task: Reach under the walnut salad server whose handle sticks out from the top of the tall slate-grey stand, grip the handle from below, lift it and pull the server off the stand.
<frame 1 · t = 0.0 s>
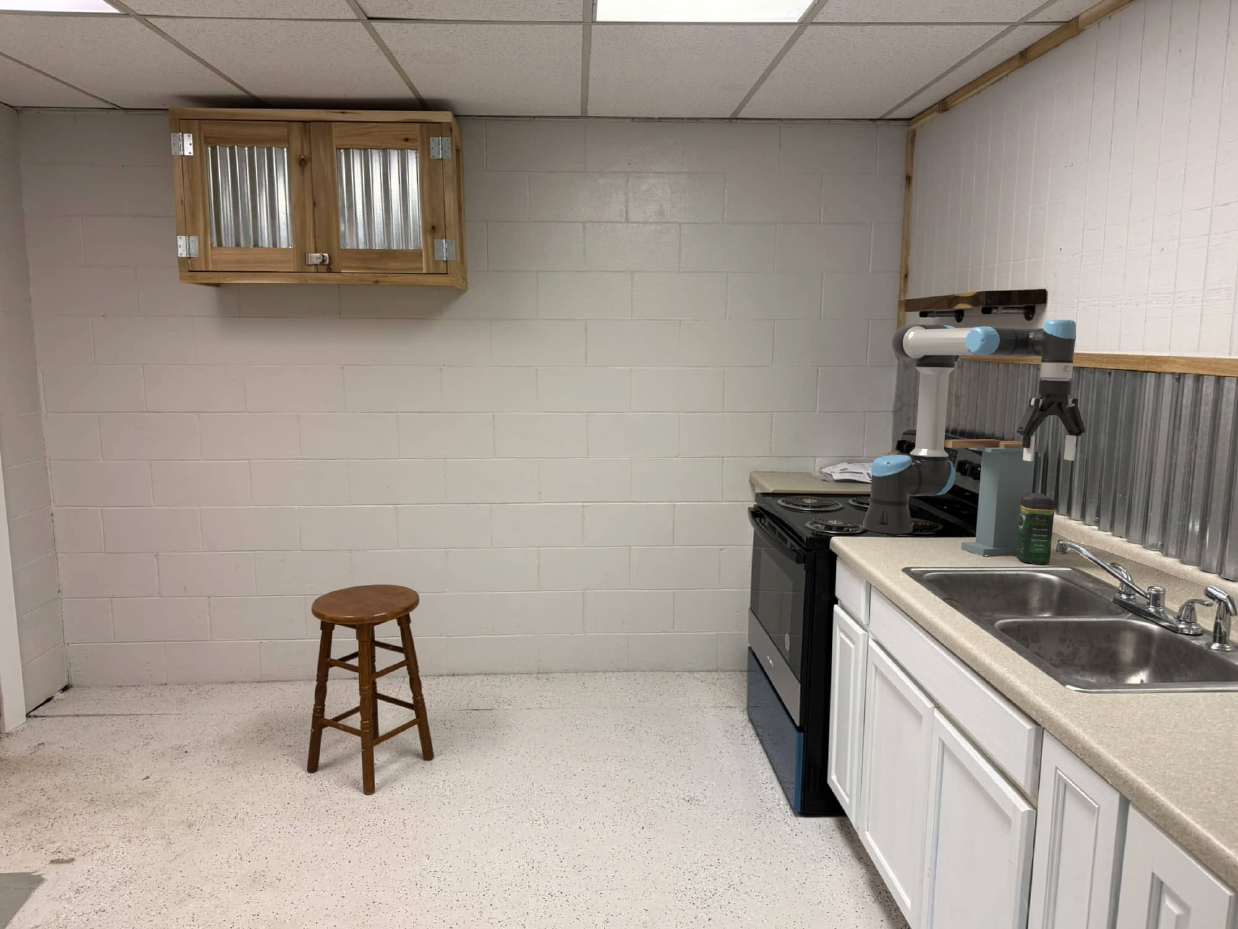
hand: (1048, 460, 226), 28 cm above the counter, tool pointing down, fingers open, 13 cm apart
coffee jar: (1032, 561, 233), on the counter
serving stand: (995, 551, 243), on the counter
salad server: (1003, 446, 240), point 30 cm above the counter, touching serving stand
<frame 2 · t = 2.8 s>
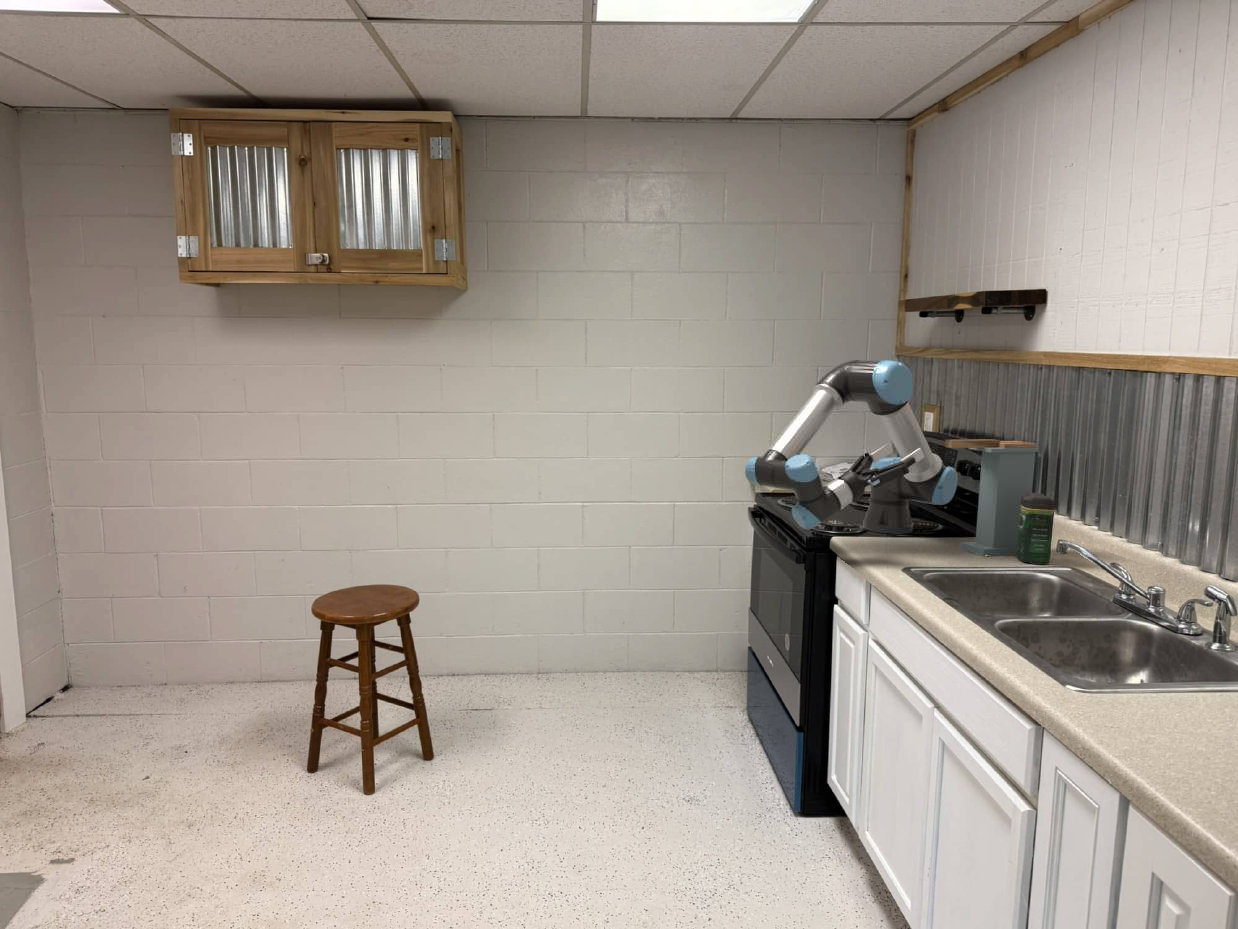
hand: (906, 449, 232), 29 cm above the counter, tool pointing upward, fingers open, 13 cm apart
nothing on the counter moved.
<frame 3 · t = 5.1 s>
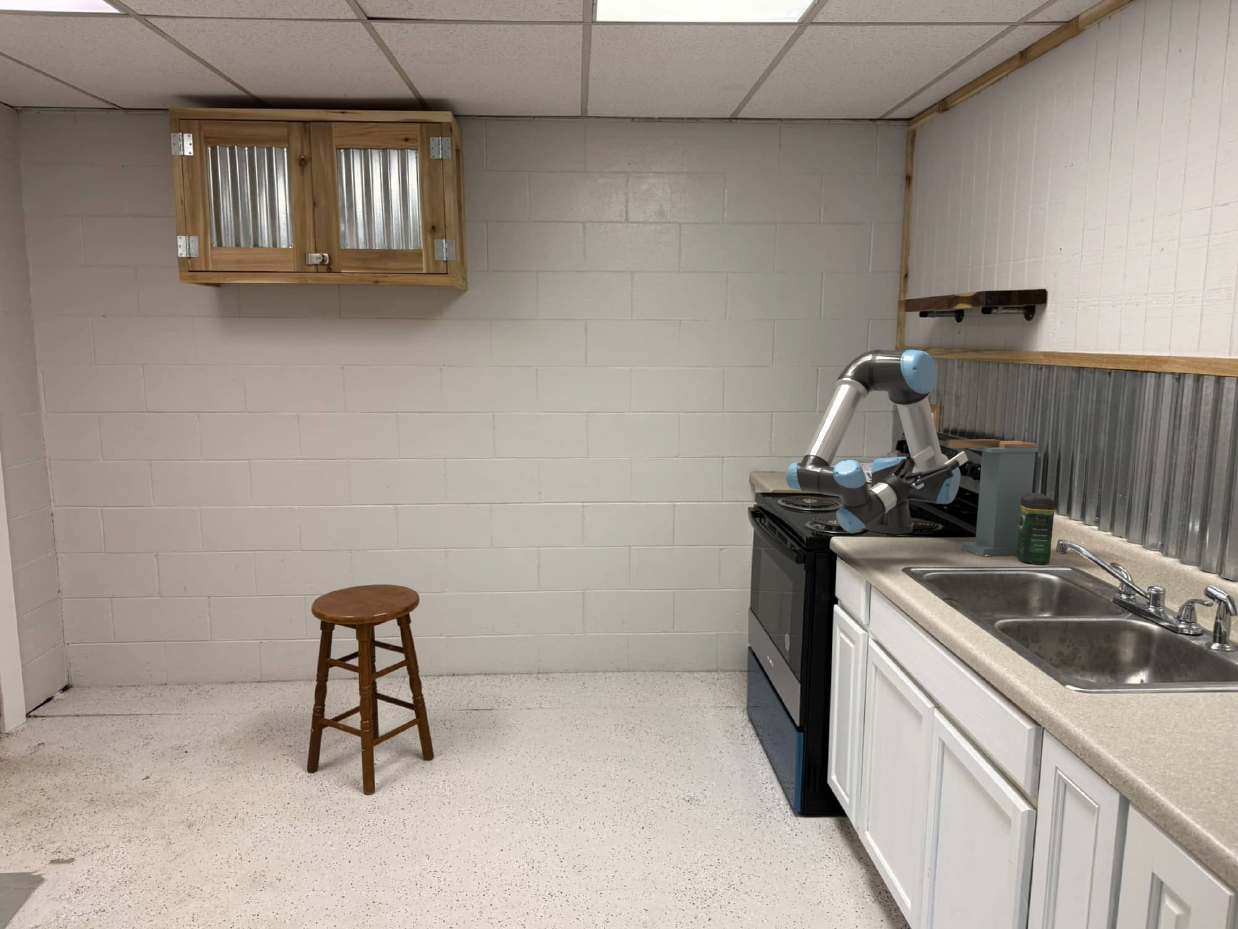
hand: (948, 452, 234), 29 cm above the counter, tool pointing upward, fingers open, 13 cm apart
nothing on the counter moved.
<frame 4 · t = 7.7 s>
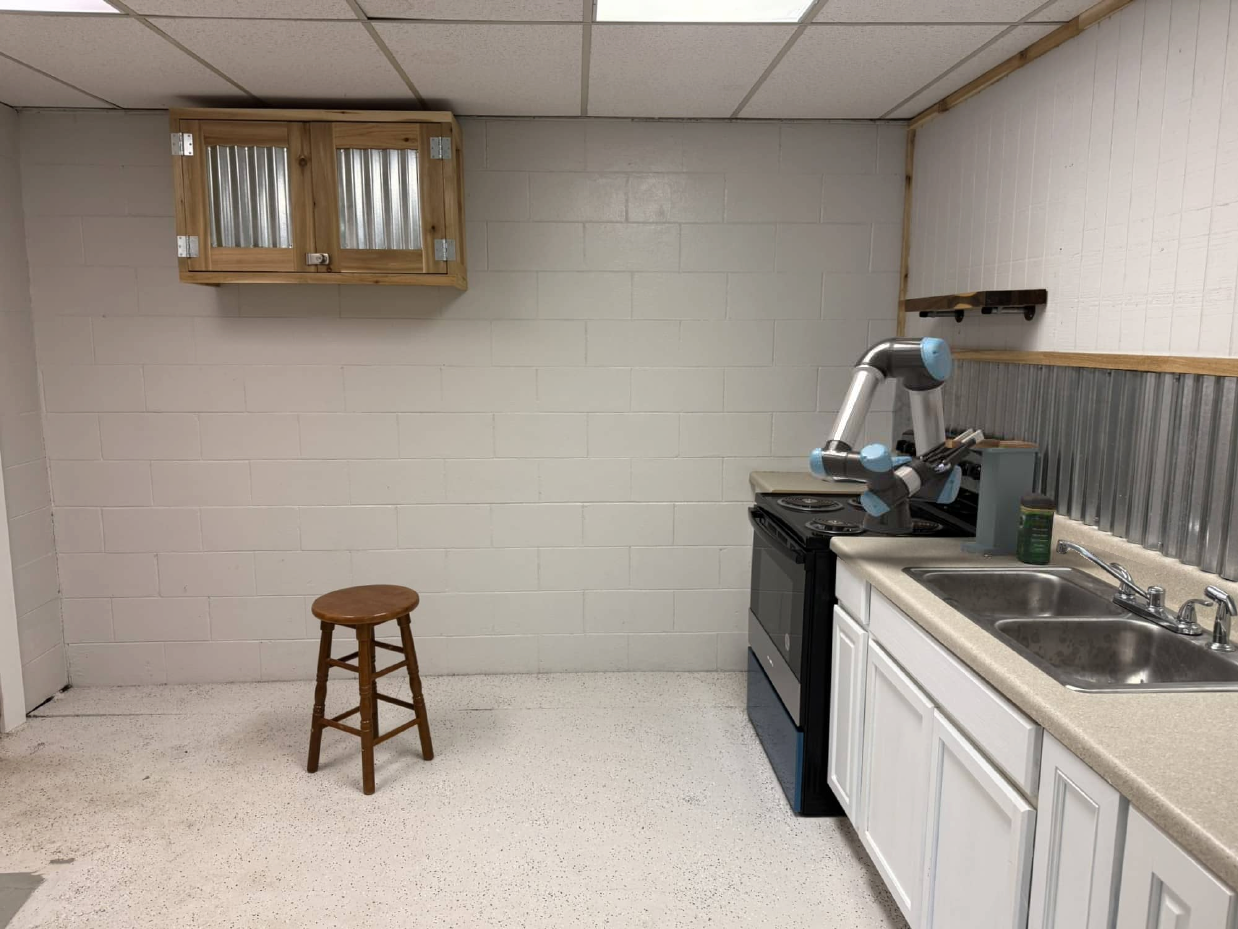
hand: (977, 433, 236), 34 cm above the counter, tool pointing upward, fingers closed on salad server, 3 cm apart
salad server: (1003, 446, 240), point 30 cm above the counter, touching gripper
everything else where it was.
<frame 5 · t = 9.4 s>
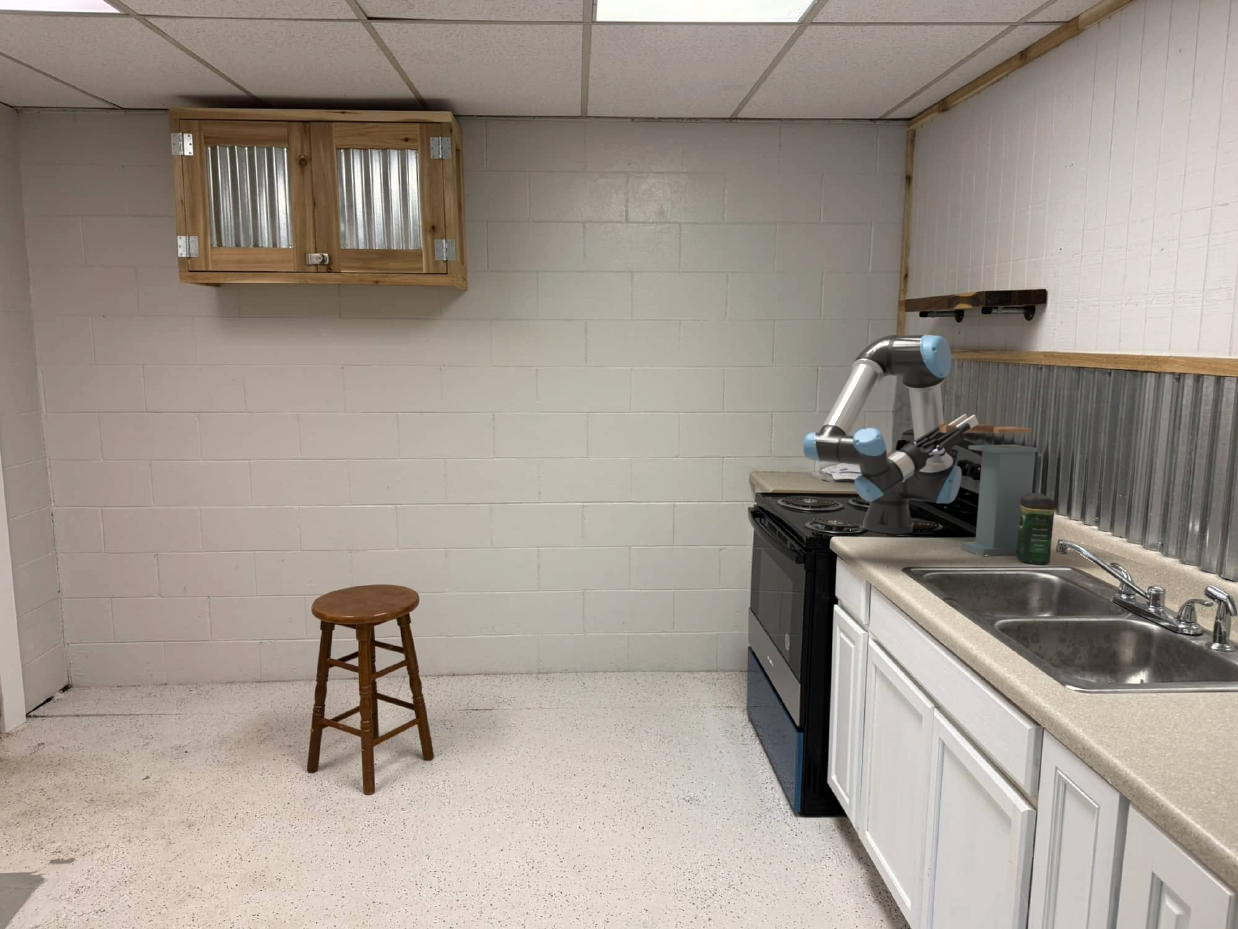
hand: (971, 418, 235), 38 cm above the counter, tool pointing upward, fingers closed on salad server, 3 cm apart
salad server: (997, 432, 238), point 34 cm above the counter, touching gripper
everything else where it was.
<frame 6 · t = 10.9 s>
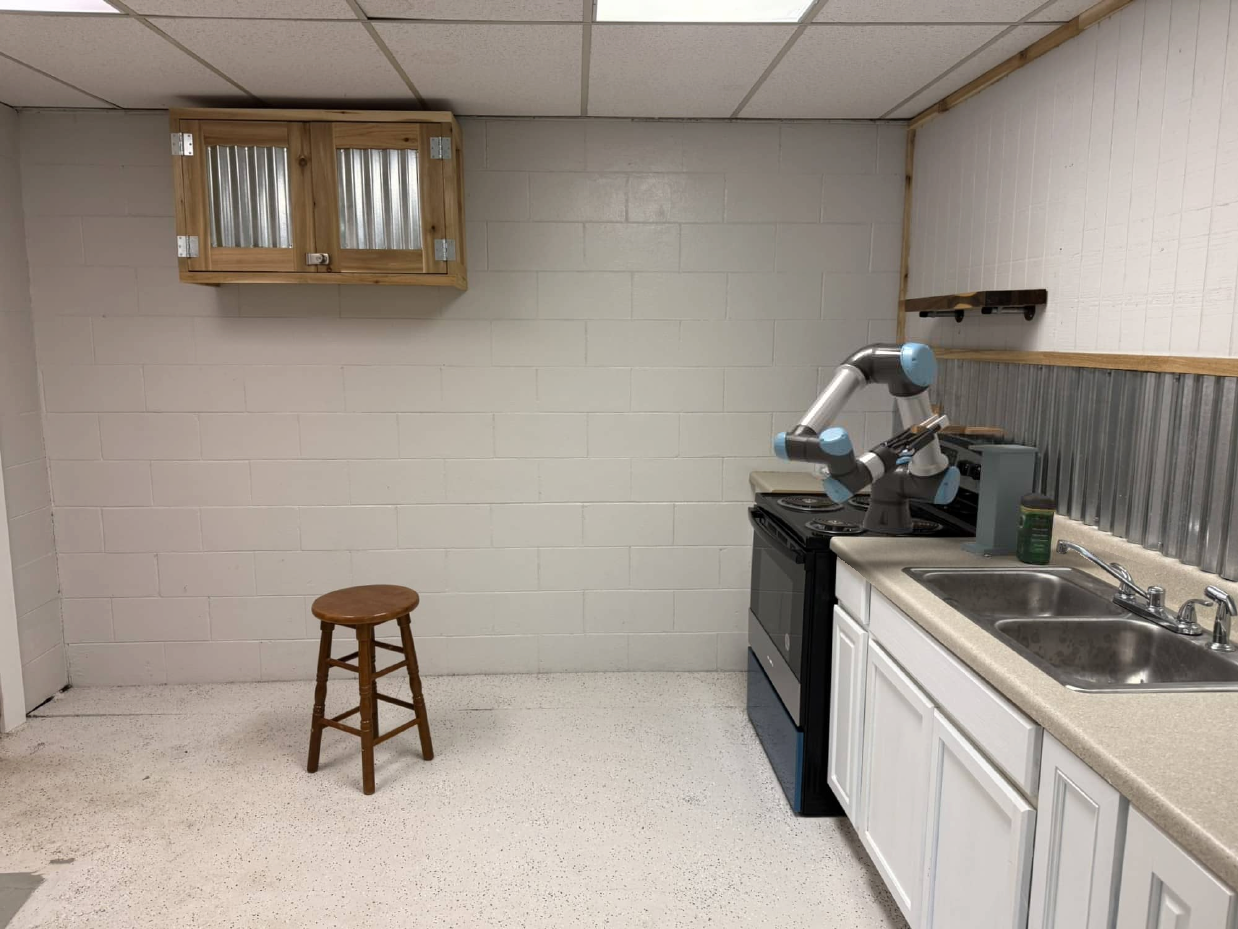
hand: (942, 419, 232), 38 cm above the counter, tool pointing upward, fingers closed on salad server, 3 cm apart
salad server: (969, 432, 235), point 34 cm above the counter, touching gripper
everything else where it was.
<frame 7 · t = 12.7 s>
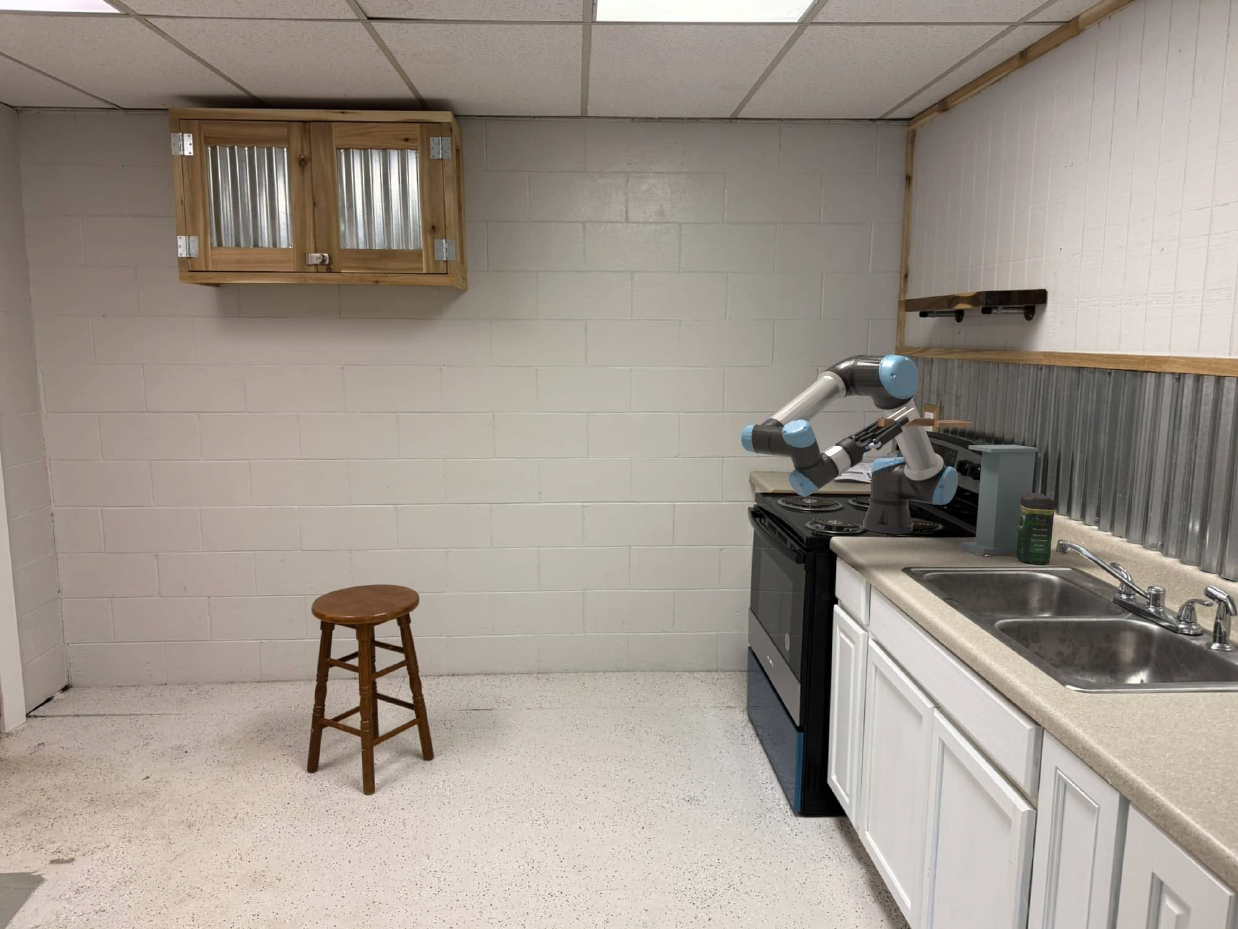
hand: (911, 412, 229), 40 cm above the counter, tool pointing upward, fingers closed on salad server, 3 cm apart
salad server: (939, 425, 232), point 36 cm above the counter, touching gripper
everything else where it was.
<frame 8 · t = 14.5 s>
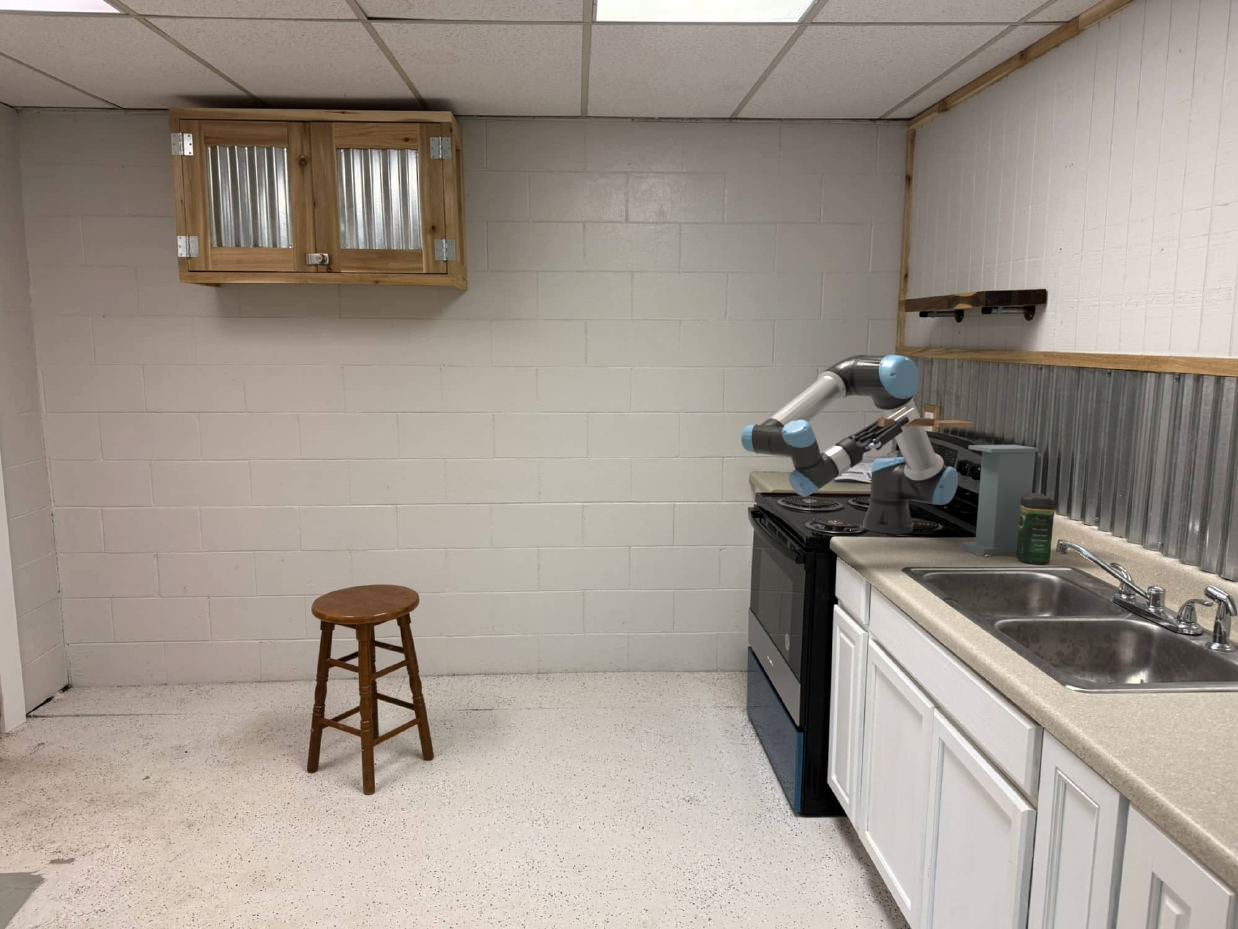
hand: (911, 412, 229), 40 cm above the counter, tool pointing upward, fingers closed on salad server, 3 cm apart
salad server: (939, 425, 232), point 36 cm above the counter, touching gripper
everything else where it was.
at the end: the gripper is holding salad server; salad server touching gripper; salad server point 36.0 cm above the counter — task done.
